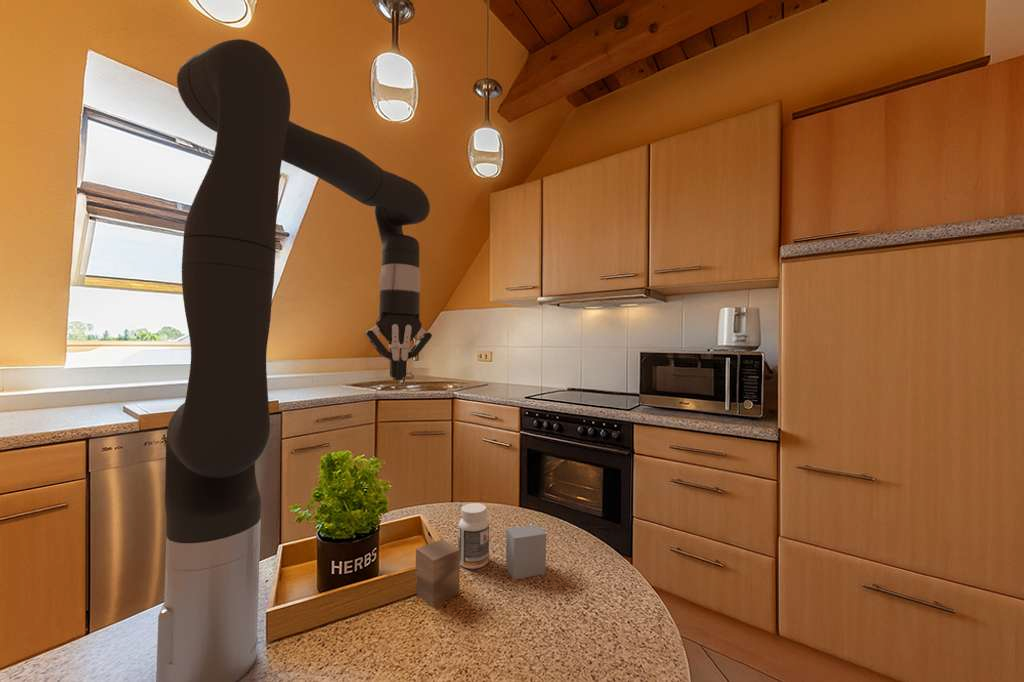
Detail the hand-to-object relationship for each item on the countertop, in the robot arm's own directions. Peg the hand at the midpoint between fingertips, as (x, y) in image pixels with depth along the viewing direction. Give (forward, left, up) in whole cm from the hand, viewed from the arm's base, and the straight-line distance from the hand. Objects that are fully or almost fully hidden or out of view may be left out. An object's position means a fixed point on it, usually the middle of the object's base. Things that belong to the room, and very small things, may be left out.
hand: (398, 380), depth 78 cm
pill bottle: (+12, -10, -33) cm, 37 cm away
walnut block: (+3, -16, -33) cm, 37 cm away
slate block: (+19, -17, -33) cm, 42 cm away
